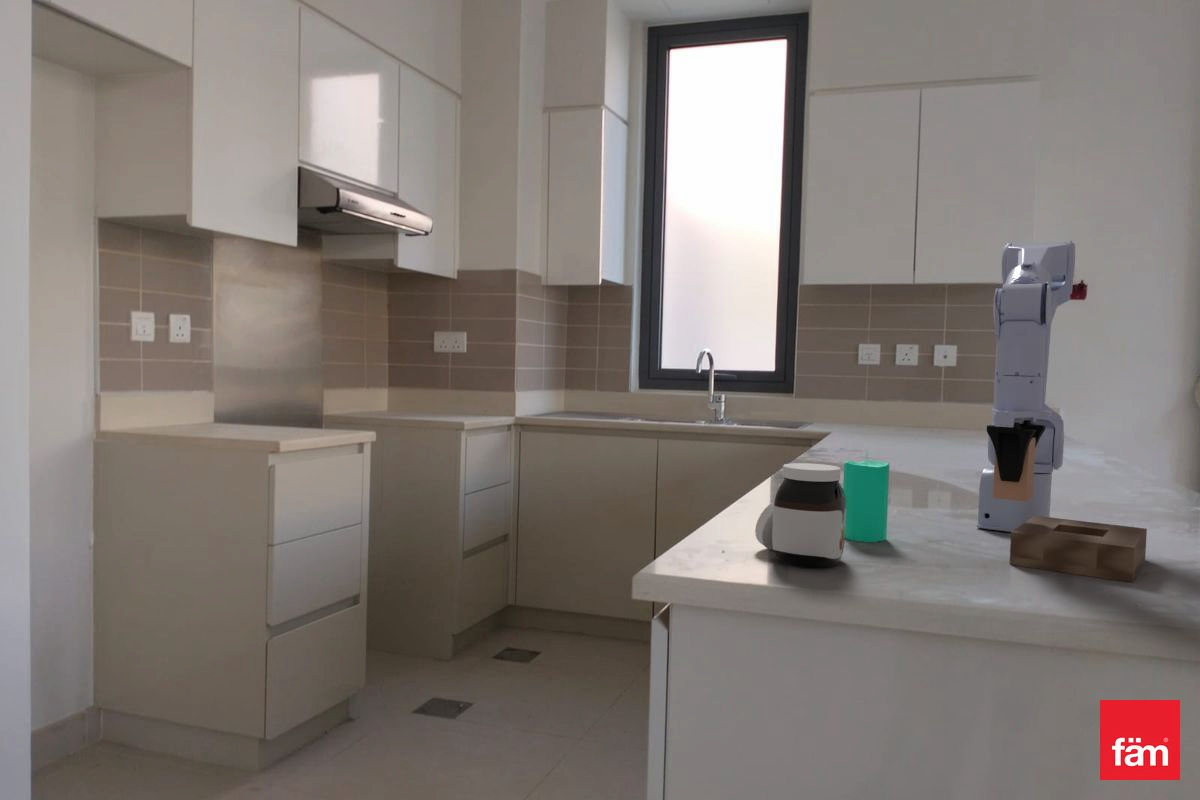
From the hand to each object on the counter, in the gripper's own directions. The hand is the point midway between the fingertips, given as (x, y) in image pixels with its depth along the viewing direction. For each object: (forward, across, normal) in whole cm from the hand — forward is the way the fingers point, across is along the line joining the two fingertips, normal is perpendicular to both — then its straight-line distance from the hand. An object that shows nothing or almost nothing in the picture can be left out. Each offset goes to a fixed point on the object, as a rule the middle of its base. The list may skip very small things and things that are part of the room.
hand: (1013, 479), depth 116 cm
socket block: (+9, -1, -8) cm, 13 cm away
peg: (+2, 0, 0) cm, 2 cm away
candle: (+10, -5, +18) cm, 21 cm away
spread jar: (+10, -23, +20) cm, 32 cm away
